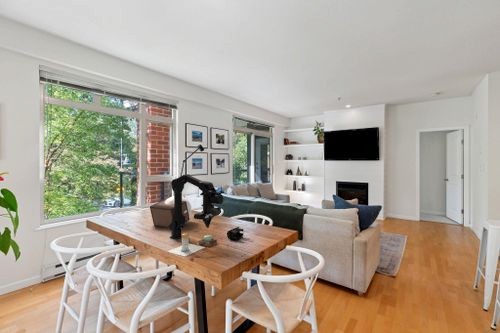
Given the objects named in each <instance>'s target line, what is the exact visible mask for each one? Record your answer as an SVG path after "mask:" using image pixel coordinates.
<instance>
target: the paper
mask: <svg viewBox="0 0 500 333" xmlns="http://www.w3.org/2000/svg"><path fill="white" fill-rule="evenodd" d="M188 247H189V250H188V251H186V252H183V251H182V245H180V246H177V247H174V248H173V249H169V250H167V251H166V253H170V254H173V255H176V256H180V257H184V258H186V257H187V256H191V255H192V254H195V253H197V252H199V251H201V250H203V249H205V248H206V246H202V245H199V244H193V243H189V242H188Z"/></svg>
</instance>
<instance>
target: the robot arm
mask: <svg viewBox="0 0 500 333" xmlns="http://www.w3.org/2000/svg"><path fill="white" fill-rule="evenodd" d="M187 183H189V184H190V185H193V186H194V187H197V188H198V189H199V190H200V191H201V192H200V194H199V196H202V204H201V205H200V206H201V207H202V210H201V212H197V213H194V214H193V219H194V220H202V221H203V223H204V225H205V228H206V229H209V228H210V224H211V222H212V219H213V218H215V217H217V216H220V215H221V213H222V207H221V206H217V207H215V205H216V204H217V205H222V204H223V202H224V200H225V199H224V196H223V194H222V192H218V191H217V190H216V188H215V186H214V183H213V182H210V181H203V180H201V179H199V178H196V177H194V176H192V175H190V174H182V175H181V176H178V177H177V178H174V179H172V180H171V183H170V185H171V186H170V187H171V190H172V191H173V196H174V216H173V218H172V223H171V224H170V225H169V228H168V230H171V231H170V232H171V233H170V234H171V236H169V239H174V240H178V239H182V234H183V233H182V232H183V231H182V228H184V227H185V224H186V223H187V222H186V220H185V216H184V215H183V214H182V196H183V191H184V189H185V185H186V184H187ZM185 222H186V223H185Z"/></svg>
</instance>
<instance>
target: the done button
mask: <svg viewBox="0 0 500 333" xmlns="http://www.w3.org/2000/svg"><path fill="white" fill-rule="evenodd" d="M212 238H213V236H212V235H211V234H206V235H204V236H203V239H204V241H206V242H209V241H212Z"/></svg>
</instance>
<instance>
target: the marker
mask: <svg viewBox="0 0 500 333" xmlns="http://www.w3.org/2000/svg"><path fill="white" fill-rule="evenodd" d="M189 236H190V235H189V233H188V232H183V233H182V237H181V246H182V251H183V252H186V251H188V250H189V247H188V243H189Z"/></svg>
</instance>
